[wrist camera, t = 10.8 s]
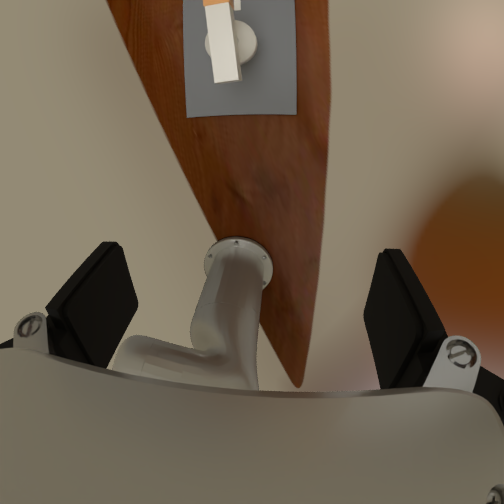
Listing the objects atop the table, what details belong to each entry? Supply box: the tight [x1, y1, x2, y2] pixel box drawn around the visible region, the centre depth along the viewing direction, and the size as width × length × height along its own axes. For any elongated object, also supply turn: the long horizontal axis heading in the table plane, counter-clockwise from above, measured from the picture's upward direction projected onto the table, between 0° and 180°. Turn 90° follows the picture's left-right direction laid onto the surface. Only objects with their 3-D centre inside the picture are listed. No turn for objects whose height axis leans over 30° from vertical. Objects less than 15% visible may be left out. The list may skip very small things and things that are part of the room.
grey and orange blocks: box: [203, 0, 258, 84], centre depth 26 cm, size 11×6×9 cm, turn 6°
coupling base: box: [183, 0, 296, 118], centre depth 32 cm, size 20×16×6 cm
